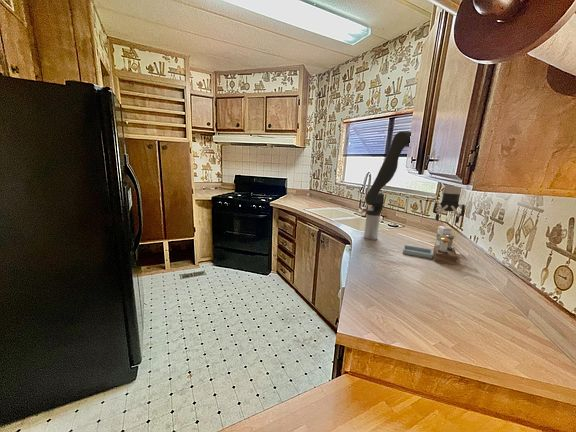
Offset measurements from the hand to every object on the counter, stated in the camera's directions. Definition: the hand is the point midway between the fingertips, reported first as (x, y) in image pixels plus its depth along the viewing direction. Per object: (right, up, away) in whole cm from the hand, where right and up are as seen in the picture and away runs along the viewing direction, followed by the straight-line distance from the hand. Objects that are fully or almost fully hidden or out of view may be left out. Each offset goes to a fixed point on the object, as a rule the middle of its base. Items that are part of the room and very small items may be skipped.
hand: (446, 221), depth 134 cm
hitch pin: (+1, -22, +6) cm, 23 cm away
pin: (+7, -21, +11) cm, 25 cm away
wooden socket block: (+4, -22, +9) cm, 24 cm away
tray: (-8, -20, +15) cm, 26 cm away
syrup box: (+13, -18, +25) cm, 34 cm away
